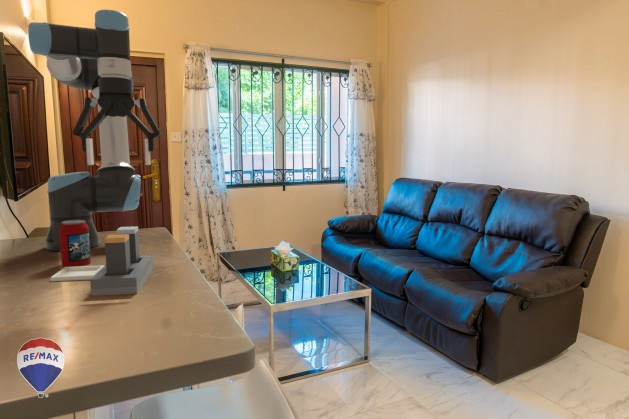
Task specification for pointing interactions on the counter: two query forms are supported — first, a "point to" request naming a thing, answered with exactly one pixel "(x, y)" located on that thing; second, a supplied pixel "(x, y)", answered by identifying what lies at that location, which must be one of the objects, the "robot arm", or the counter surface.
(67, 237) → the beverage can
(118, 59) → the robot arm
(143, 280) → the grey socket block
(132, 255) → the twin plug
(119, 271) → the plug
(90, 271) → the tray
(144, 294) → the counter surface
